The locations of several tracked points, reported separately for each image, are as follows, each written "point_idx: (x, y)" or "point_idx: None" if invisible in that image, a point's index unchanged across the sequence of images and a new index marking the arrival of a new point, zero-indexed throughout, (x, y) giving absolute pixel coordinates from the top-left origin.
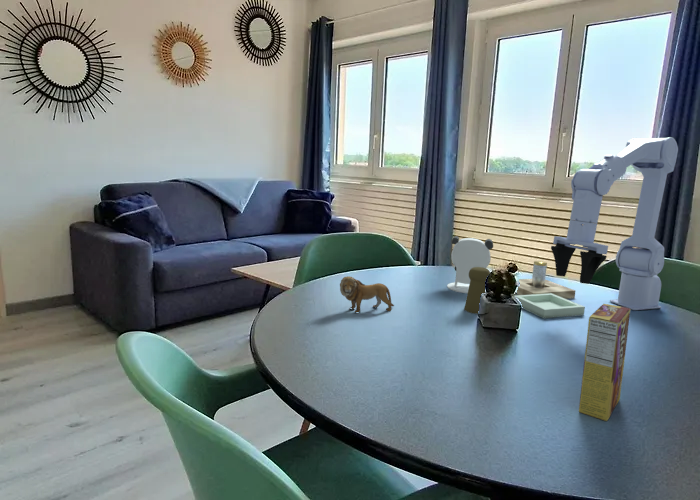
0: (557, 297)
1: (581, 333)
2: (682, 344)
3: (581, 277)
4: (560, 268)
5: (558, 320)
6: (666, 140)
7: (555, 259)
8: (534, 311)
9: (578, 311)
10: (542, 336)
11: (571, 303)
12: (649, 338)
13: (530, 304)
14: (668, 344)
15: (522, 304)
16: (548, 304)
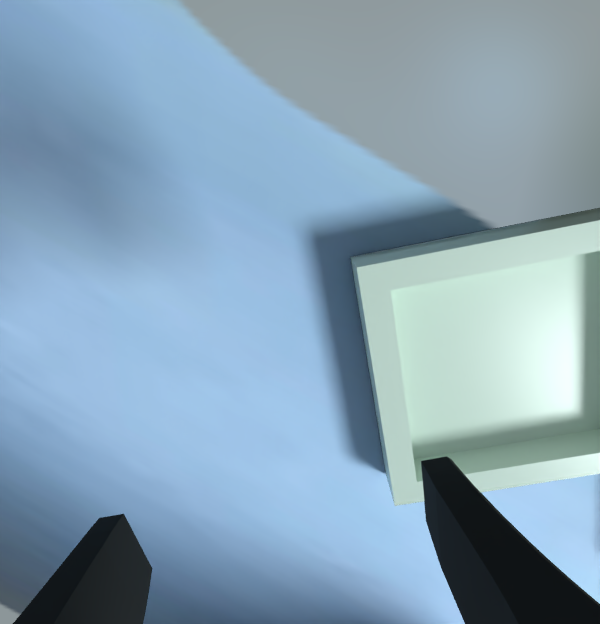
0: (568, 457)
1: (140, 332)
2: None
3: (74, 559)
4: (457, 545)
5: (319, 320)
6: None
7: (578, 610)
8: (433, 244)
9: (385, 460)
10: (69, 99)
11: None
12: None
13: (485, 240)
14: None
15: (549, 222)
16: (538, 385)
